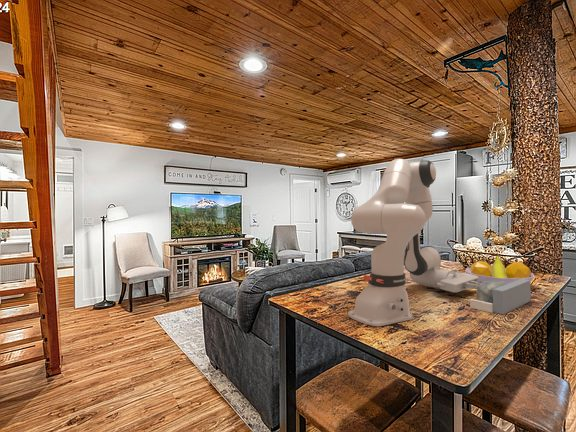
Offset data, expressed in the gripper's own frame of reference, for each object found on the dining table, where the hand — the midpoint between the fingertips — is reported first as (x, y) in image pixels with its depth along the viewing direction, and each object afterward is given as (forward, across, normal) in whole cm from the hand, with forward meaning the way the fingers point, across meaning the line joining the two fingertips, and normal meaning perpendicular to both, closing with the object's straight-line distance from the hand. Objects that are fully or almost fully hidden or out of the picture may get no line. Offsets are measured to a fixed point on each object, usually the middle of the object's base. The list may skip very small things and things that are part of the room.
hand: (481, 286), depth 115 cm
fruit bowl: (-6, +31, +5) cm, 32 cm away
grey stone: (+5, -1, +5) cm, 7 cm away
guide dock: (+7, 0, +5) cm, 9 cm away
